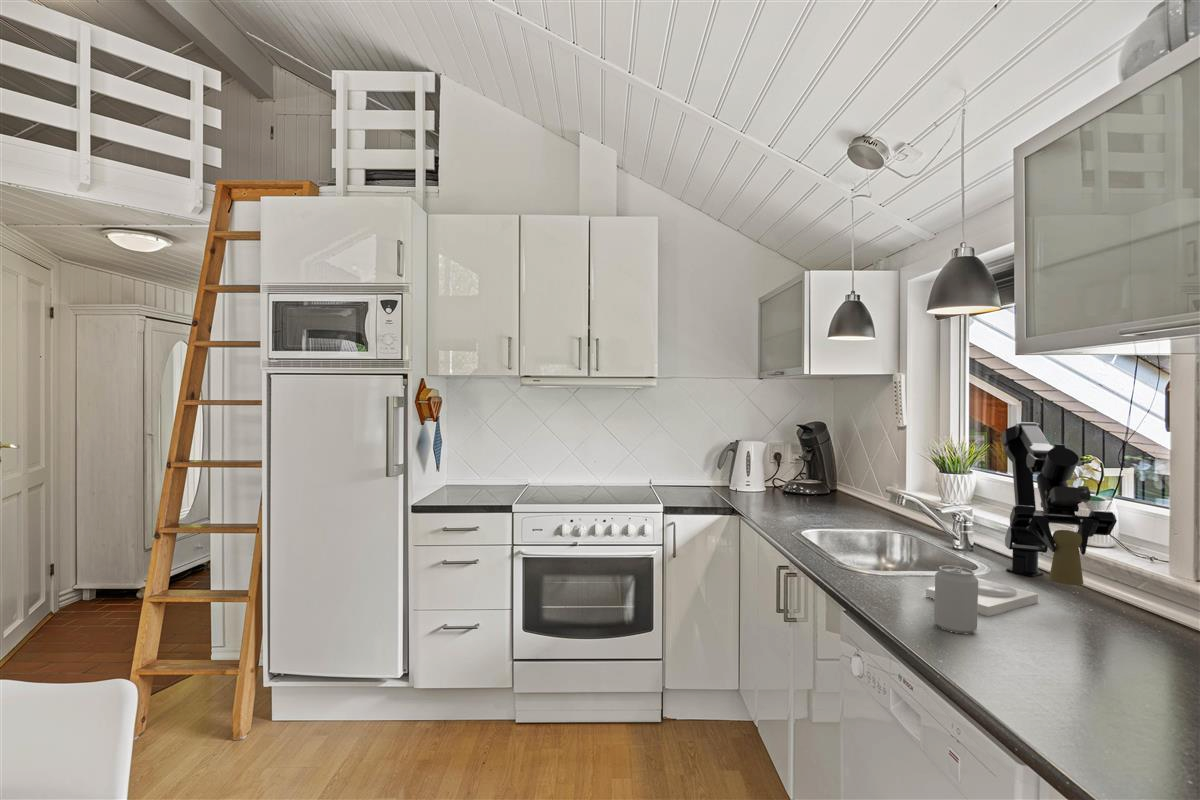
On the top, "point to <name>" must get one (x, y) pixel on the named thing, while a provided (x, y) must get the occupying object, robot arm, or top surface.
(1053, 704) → the top surface
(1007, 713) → the top surface
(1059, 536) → the cork
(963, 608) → the can
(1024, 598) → the kitchen scale
